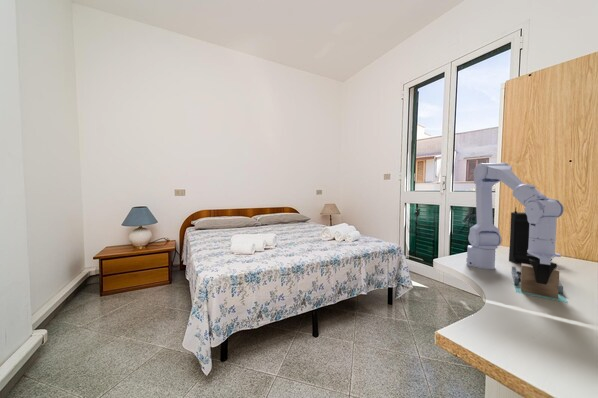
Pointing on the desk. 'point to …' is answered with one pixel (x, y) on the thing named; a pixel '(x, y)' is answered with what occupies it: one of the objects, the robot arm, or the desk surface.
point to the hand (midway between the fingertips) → (539, 280)
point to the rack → (517, 279)
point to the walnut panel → (532, 286)
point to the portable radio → (519, 238)
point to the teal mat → (560, 297)
